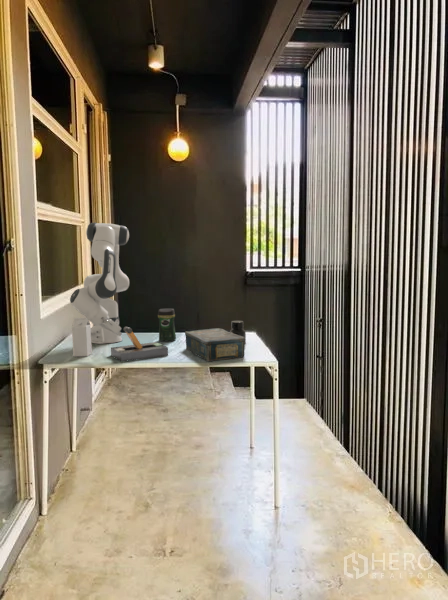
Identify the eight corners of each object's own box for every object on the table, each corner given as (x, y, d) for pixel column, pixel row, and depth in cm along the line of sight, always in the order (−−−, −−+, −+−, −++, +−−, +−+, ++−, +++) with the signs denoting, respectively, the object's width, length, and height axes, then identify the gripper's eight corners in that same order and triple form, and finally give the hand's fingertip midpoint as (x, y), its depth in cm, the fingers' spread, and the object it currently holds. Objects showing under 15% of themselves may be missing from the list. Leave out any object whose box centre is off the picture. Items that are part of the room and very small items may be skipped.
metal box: (206, 362, 222) (205, 341, 221) (184, 349, 252) (183, 330, 250) (246, 358, 230) (246, 337, 229) (221, 345, 260) (220, 327, 259)
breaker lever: (139, 350, 234) (126, 330, 230) (135, 348, 239) (122, 328, 235) (143, 347, 235) (130, 327, 231) (139, 345, 240) (126, 325, 236)
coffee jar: (177, 339, 278) (176, 307, 276) (173, 341, 270) (173, 309, 268) (161, 338, 279) (160, 307, 277) (157, 341, 271) (156, 309, 269)
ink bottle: (248, 341, 268) (247, 320, 266) (244, 344, 259) (244, 323, 258) (231, 340, 270) (231, 320, 269) (227, 344, 262) (226, 322, 260)
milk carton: (78, 353, 244) (76, 316, 242) (91, 353, 244) (90, 316, 242) (73, 356, 237) (71, 319, 235) (87, 356, 237) (85, 318, 235)
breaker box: (121, 361, 225) (121, 352, 224) (111, 355, 238) (110, 346, 238) (168, 355, 237) (167, 346, 236) (155, 349, 250) (155, 341, 250)
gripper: (110, 314, 217) (131, 332, 223) (97, 309, 235) (117, 326, 241) (101, 324, 216) (122, 343, 222) (89, 319, 233) (109, 336, 239)
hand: (120, 334), depth 231 cm, fingers closed
